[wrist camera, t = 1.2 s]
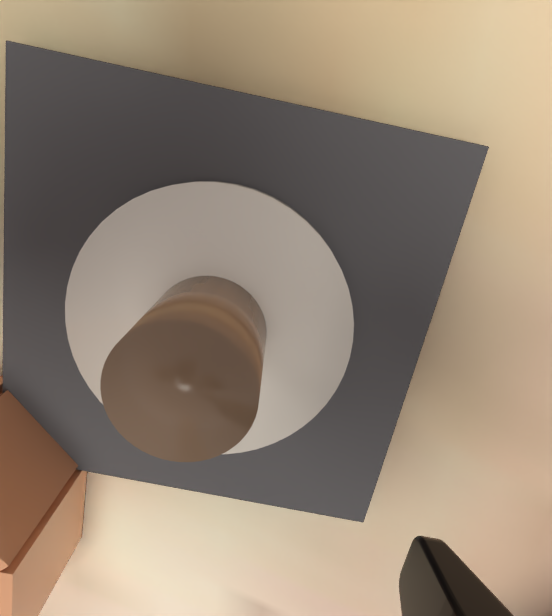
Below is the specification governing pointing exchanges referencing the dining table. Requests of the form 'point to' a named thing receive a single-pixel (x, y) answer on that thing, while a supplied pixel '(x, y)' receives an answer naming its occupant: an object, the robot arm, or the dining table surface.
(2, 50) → the dining table surface
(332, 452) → the trivet
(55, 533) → the bowl
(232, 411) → the lid
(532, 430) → the dining table surface
